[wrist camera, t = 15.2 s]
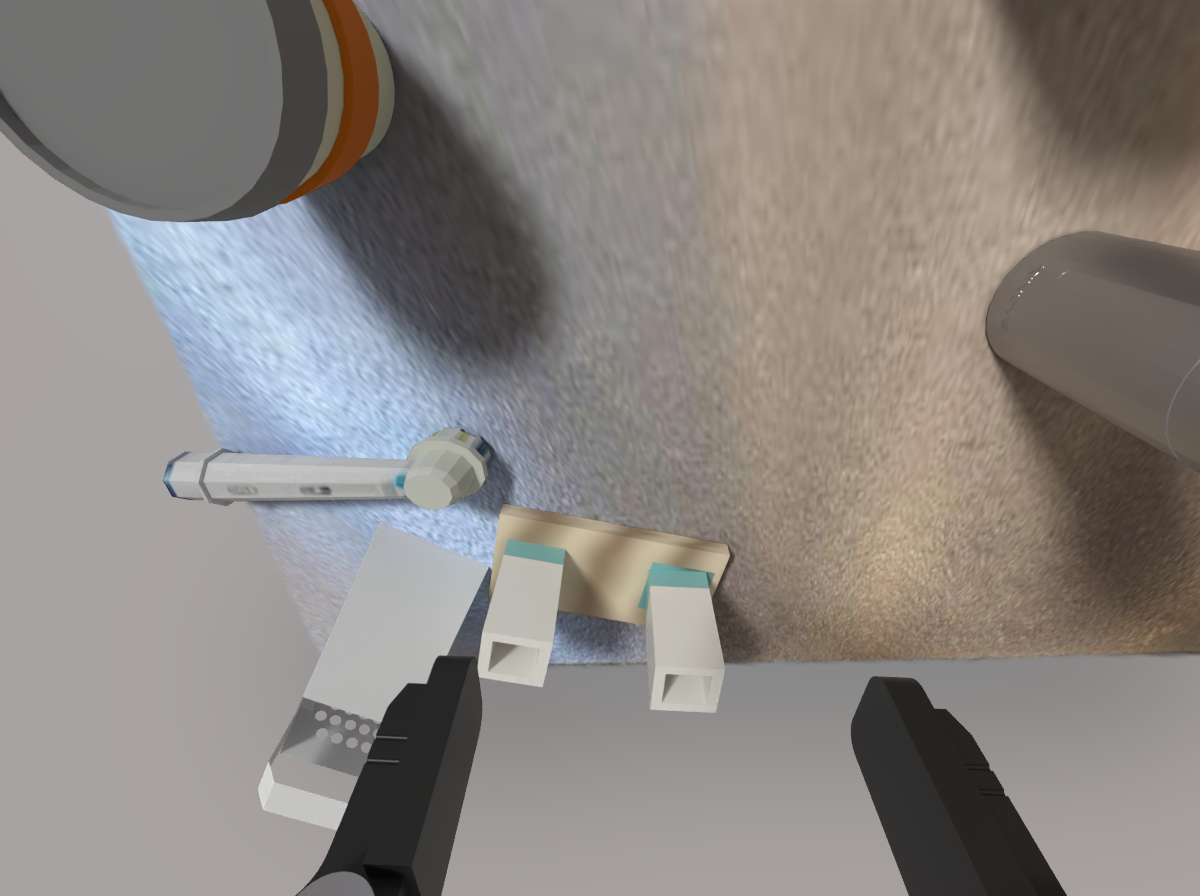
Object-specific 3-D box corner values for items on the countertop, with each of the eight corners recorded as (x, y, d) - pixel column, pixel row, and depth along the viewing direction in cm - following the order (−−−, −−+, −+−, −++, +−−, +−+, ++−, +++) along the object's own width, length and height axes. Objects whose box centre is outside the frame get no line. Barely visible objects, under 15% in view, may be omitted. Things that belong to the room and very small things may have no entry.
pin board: (727, 544, 47) (741, 597, 42) (694, 621, 52) (703, 677, 47) (503, 503, 46) (487, 552, 41) (491, 587, 51) (476, 640, 45)
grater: (450, 634, 54) (371, 864, 37) (349, 596, 52) (214, 823, 35) (489, 566, 50) (419, 794, 32) (379, 521, 47) (241, 740, 30)
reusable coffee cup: (445, 190, 34) (337, 221, 21) (254, 201, 35) (34, 238, 22) (397, -79, 28) (200, -271, 15) (165, -59, 28) (-218, -226, 15)
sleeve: (705, 571, 47) (725, 669, 38) (698, 612, 50) (715, 712, 41) (649, 569, 47) (655, 666, 38) (644, 609, 50) (650, 709, 41)
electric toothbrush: (147, 462, 41) (455, 470, 36) (215, 422, 46) (489, 424, 42) (179, 517, 43) (470, 532, 39) (240, 472, 49) (500, 480, 44)
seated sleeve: (565, 549, 46) (552, 643, 38) (556, 590, 49) (542, 687, 40) (508, 539, 46) (482, 631, 37) (501, 581, 48) (476, 677, 40)
